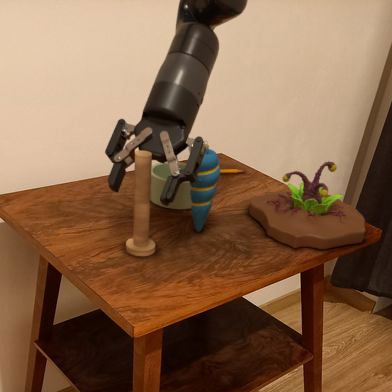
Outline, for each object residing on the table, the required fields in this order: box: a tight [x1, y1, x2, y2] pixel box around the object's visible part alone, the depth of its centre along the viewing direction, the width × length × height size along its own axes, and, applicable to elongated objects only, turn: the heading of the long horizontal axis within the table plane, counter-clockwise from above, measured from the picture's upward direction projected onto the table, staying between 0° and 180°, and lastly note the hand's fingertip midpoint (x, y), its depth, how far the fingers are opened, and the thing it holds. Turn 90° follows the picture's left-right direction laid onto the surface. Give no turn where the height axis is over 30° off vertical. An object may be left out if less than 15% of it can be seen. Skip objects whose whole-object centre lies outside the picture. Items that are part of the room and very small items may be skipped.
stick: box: [125, 150, 156, 257], centre depth 80 cm, size 5×5×15 cm
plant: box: [248, 160, 366, 251], centre depth 94 cm, size 20×20×11 cm
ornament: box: [190, 139, 221, 233], centre depth 87 cm, size 5×5×15 cm
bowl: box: [150, 161, 192, 210], centre depth 100 cm, size 10×10×5 cm
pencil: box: [220, 168, 244, 175], centre depth 113 cm, size 1×19×1 cm
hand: (138, 196), depth 78 cm, fingers open, 8 cm apart
